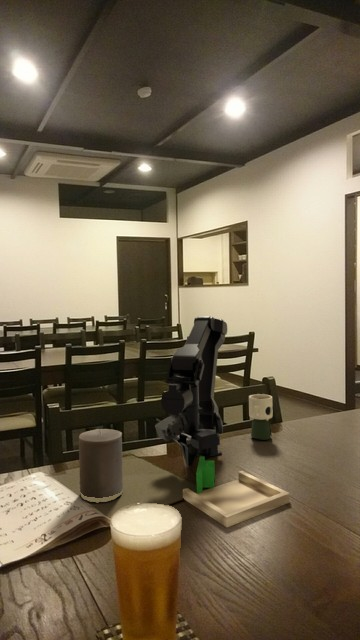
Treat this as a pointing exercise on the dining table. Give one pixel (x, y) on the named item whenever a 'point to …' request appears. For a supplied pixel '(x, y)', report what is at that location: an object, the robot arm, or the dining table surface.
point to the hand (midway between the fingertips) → (189, 465)
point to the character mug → (260, 415)
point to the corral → (238, 499)
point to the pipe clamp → (205, 474)
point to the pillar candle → (100, 463)
